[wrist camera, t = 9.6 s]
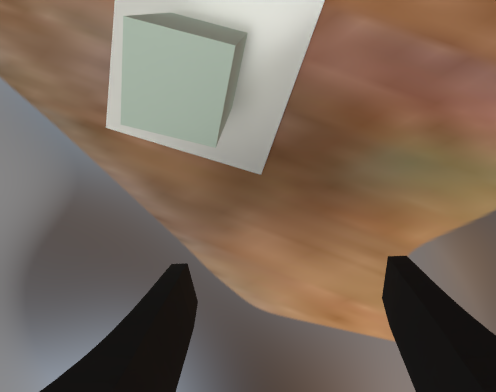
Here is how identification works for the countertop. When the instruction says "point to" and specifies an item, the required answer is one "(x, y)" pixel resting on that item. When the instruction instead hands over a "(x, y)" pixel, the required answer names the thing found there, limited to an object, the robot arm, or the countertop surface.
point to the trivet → (250, 76)
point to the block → (179, 75)
